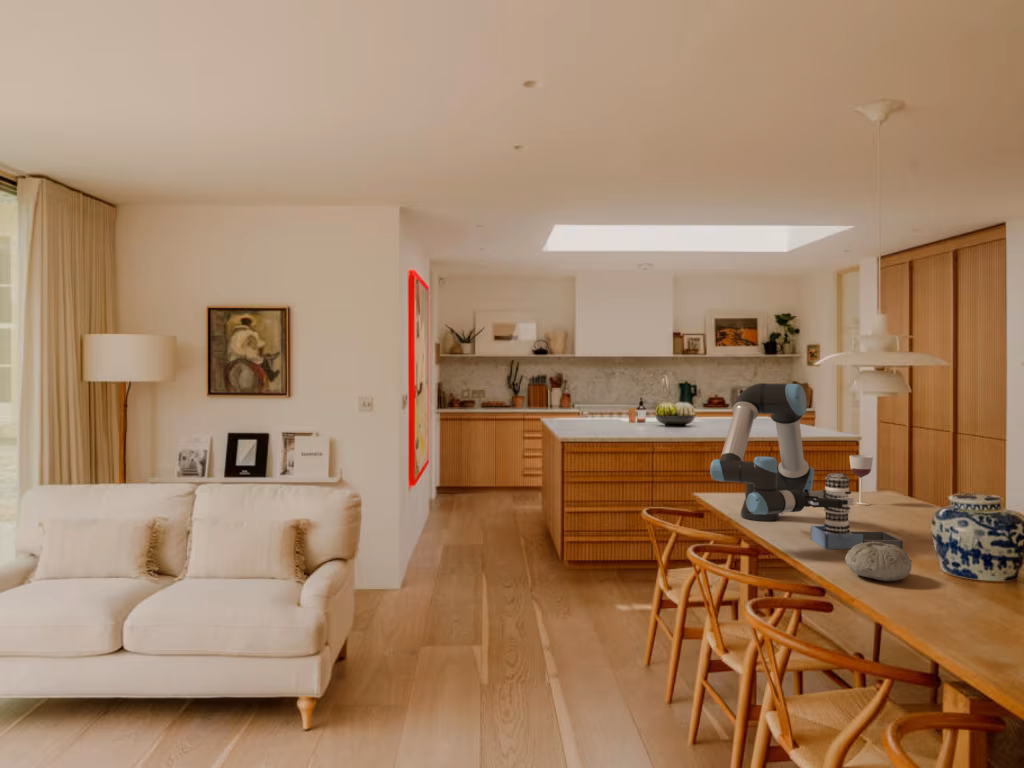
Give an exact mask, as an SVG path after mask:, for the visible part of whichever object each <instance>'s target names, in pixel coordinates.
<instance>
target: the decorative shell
mask: <svg viewBox="0 0 1024 768" xmlns="http://www.w3.org/2000/svg"><path fill="white" fill-rule="evenodd" d="M844 561H845V564H846V566H847V567H848V568H849V570H851V572H852V573H854V574H856V575H857V576H861V577H866V578H868V579H873V580H877V581H881V582H894V581H895V582H896V581H899V580H903V579H904V578H906V577H908V576H909V574H910V573H911V570H912V563H913V561H912V559H911V558H910V556H909V555H908V552H907V551H905V550H904V549H901V548H900V547H898V546H895V545H893V544H892V545H890V544H885V543H882V542H873V541H872V542H867V543H860V544H857V545H855V546H854V547H852V548H851V549H848V550H847V554H845V558H844Z"/></svg>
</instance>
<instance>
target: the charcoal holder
mask: <svg viewBox="0 0 1024 768" xmlns="http://www.w3.org/2000/svg"><path fill="white" fill-rule="evenodd" d="M848 534H863V543H867V542H872V541H873V542H882V543H885V544H890V545H892V544H893V545H895V546H898V547H900V548H901V549H902V550H904V549H903V546H904V545H903V544H904V541H903V540H902V539H900V538H898V537H896V536H893V535H892V534H890V533H887V532H885V531H879V530H877V531H869V530H868V531H865V530H864V531H861V530H859V531H854V530H853V531H851V530H850V532H849V533H848Z"/></svg>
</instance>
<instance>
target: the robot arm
mask: <svg viewBox="0 0 1024 768" xmlns="http://www.w3.org/2000/svg"><path fill="white" fill-rule="evenodd" d="M807 405H808V404H807V395H806V391H805V388H804V387H803V386H802V385H801V384H799V383H790V382H789V383H788V382H787V383H772V382H771V383H765V382H760V383H753V385H750V386H748V387H747V388H745V389H744V390H743V391H742V392H740V394H739V395H738V396H736V398H735V401H733V404H732V408H731V411H732V414H733V415H732V417H731V422H730V425H729V427H728V428H729V429H728V431H727V435H726V438H725V440H724V445H723V448H722V452H721V454H720V459H719V458H718V459H717V458H716V459H713V460H712V461H711V463H710V469H709V470H710V471H709V473H710V477H711V479H712V480H713V481H717V482H723V483H724V482H728V483H736V484H737V483H740V484H745V486H744V487H745V489H744V491H745V496H744V500H743V504H742V506H741V510H740V517H741V516H742V517H741V518H743V517H744V518H743V519H746V518H747V519H746V520H750V519H751V521H757V520H759V521H758V522H771V521H777V520H779V519H780V515H784V513H798V512H801V511H802V510H804V508H805V507H806V508H810V507H812V508H814V509H815V508H824V507H832V508H838V509H840V508H842V506H848V507H849V506H854V505H853V502H854V496H848V497H845V498H837V499H829V498H824V497H823V495H824V493H823V490H812V488H813V483H814V477H815V469H814V468H813V467H810V466H809V464H808V461H807V460H805V459H804V458H805V456H804V450H803V449H804V448H803V441H802V440H803V439H802V432H801V431H802V430H801V423H800V421H801V419H803V416H804V415H806V414H807V408H808V406H807ZM759 414H765V415H770V418H771V420H772V421H773V422H774V423H775V426H776V433H777V441H778V449H779V455H780V462H779V463H778V461H777V459H776V458H775V457H773V456H755V457H754V459H753V461H747V460H746V461H743V460H744V457H745V452H746V449H747V446H748V442H749V439H750V435H751V431H752V427H753V423H754V420H756V419H757V418H758V416H759Z"/></svg>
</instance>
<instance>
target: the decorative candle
mask: <svg viewBox="0 0 1024 768" xmlns="http://www.w3.org/2000/svg"><path fill="white" fill-rule="evenodd" d="M824 479H825V485H824V489H822V491H823V493H824V495H823V497H824V498H829V499H837V498H845V497H849V495H851V494H852V492H851V491H850V487H849V480H850V478H848V476H847V474H845V473H837V472H834V473H828V474H827V476H825V477H824ZM823 508H824V509H823V511H824V512H825V516H824V517H825V518H824V523H823V525H824V526H825V528H824V530H825V533H826V534H848V533H849V532H850V531H851V530H850V527H851V526H850V520H849V514H850V510H851V507H849V506H842V508H840V509H838V508H832V507H823Z"/></svg>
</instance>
